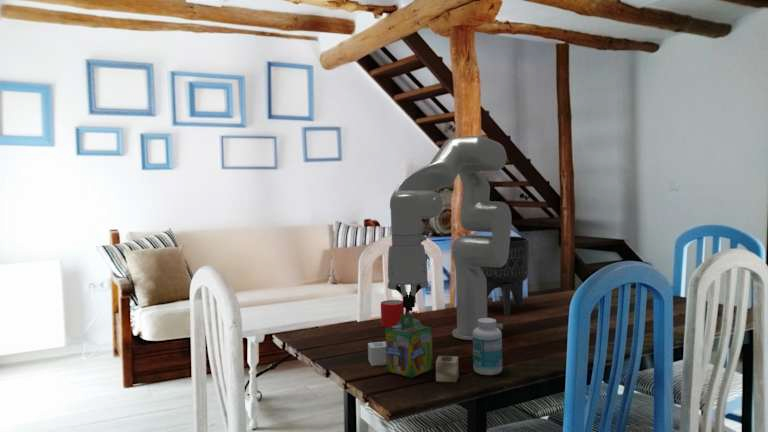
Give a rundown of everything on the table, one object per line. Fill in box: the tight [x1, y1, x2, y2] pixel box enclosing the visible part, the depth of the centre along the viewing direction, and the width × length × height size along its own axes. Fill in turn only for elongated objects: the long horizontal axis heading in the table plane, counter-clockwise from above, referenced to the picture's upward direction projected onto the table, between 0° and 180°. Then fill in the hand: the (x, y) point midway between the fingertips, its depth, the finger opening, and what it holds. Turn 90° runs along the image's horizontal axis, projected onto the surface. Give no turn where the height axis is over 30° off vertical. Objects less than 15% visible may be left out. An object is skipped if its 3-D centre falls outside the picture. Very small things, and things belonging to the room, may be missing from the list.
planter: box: [480, 235, 530, 317], centre depth 220 cm, size 20×20×26 cm
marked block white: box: [367, 341, 387, 367], centre depth 165 cm, size 5×5×5 cm
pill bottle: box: [472, 317, 503, 376], centre depth 154 cm, size 8×7×14 cm
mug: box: [380, 299, 411, 329], centre depth 206 cm, size 8×12×8 cm, turn 135°
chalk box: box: [384, 312, 434, 379], centre depth 157 cm, size 9×9×15 cm
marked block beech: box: [435, 355, 460, 383], centre depth 150 cm, size 5×5×5 cm
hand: (409, 310), depth 156 cm, fingers closed
